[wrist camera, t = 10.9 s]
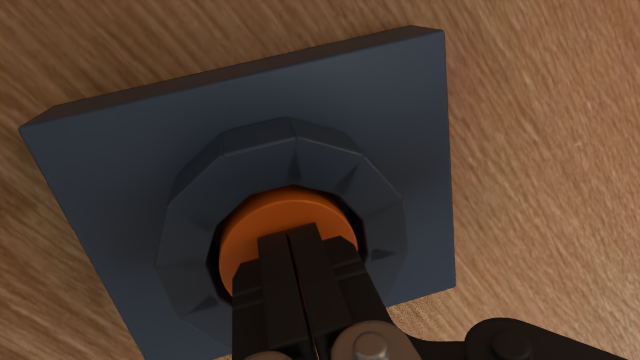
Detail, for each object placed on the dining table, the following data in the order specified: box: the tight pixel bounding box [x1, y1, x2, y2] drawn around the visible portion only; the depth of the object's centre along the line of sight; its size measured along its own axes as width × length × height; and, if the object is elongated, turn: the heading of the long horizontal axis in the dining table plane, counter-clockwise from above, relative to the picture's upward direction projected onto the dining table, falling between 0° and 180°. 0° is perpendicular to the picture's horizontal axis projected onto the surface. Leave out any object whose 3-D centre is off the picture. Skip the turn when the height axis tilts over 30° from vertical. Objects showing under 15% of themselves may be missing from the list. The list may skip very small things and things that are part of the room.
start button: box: [219, 184, 358, 306], centre depth 11 cm, size 4×4×2 cm
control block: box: [18, 25, 456, 360], centre depth 12 cm, size 11×9×4 cm
